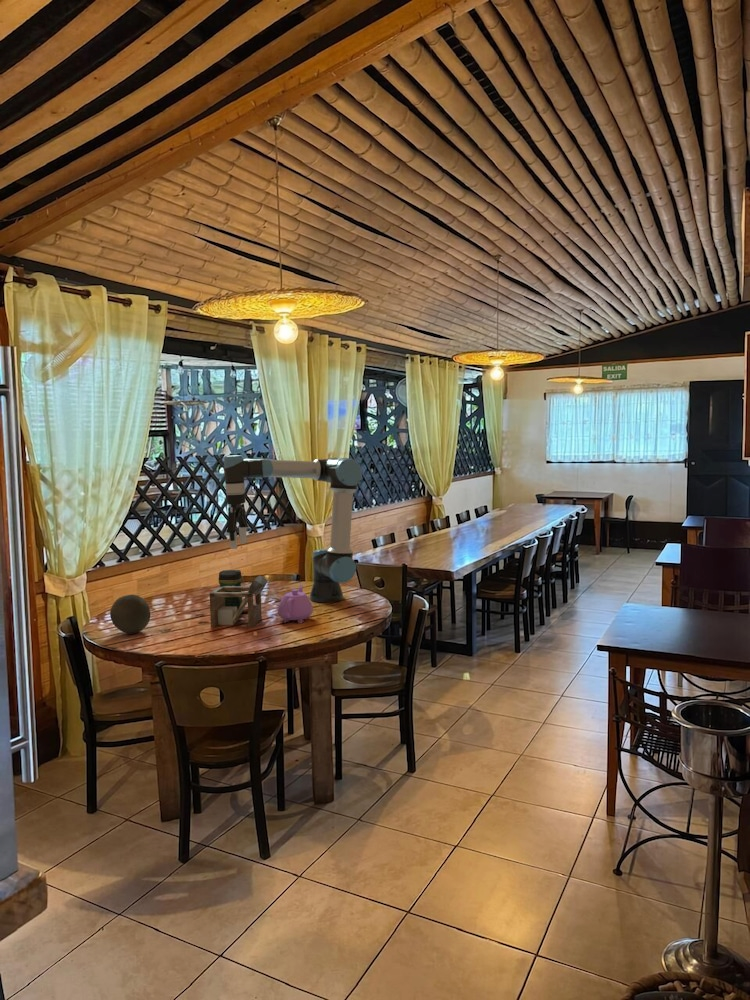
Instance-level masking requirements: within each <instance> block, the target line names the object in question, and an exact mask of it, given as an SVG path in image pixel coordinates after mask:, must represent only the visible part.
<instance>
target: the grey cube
mask: <svg viewBox="0 0 750 1000" xmlns="http://www.w3.org/2000/svg"><path fill="white" fill-rule="evenodd" d="M236 612H237V607H221V608H220V609H219V610H218V625H217V626H233V625H235V623H237V622H238V618H237V619H236V620H234V621H232V619H233V617H234V615H235V614H236Z"/></svg>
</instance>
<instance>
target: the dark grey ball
mask: <svg viewBox="0 0 750 1000" xmlns="http://www.w3.org/2000/svg"><path fill="white" fill-rule="evenodd" d="M109 615H110V620H111V623H112V624H113V626H114V627H115V628H117V630H119V631H120V632H122V633H125V634H129V635H130V634H131V635H132V633H133V634H137V633H140V632H142V631H143V630H144V629H145V628H146V627H147V626H148V624H149V623H150V620H151V609H150V605H149V604H148V602H147V600H145V599H144V598H143V597H141V596H139V595H137V594H127V595H123V596H120V597H118V598H117V599H116V600H115V601H114V602H113V604H112V606H111V608H110V612H109Z"/></svg>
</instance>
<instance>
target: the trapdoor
mask: <svg viewBox="0 0 750 1000" xmlns="http://www.w3.org/2000/svg"><path fill="white" fill-rule="evenodd" d="M268 582H269V580H268V579H267V578H265V577H263V576H262V575H258V576H256V578H254V579H253V580H252V582H251V584H250V585H249V586H250V587H249V589H248V591H247V592H253V595H258V594H259V593H260V592H261V593H262V591H264V589H265V586H266V584H267V583H268ZM247 605H248V601H247V597H243V599H242V603H241V605H240V607H239V608H238V610H237V612H236V614H235V615H234V617H233V619H232V621H234V620H236V619H237V620H238V618H239V617H240V616H241V614H242V613H243V612H244V609H245V608H246V606H247ZM242 611H243V612H242Z"/></svg>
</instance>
